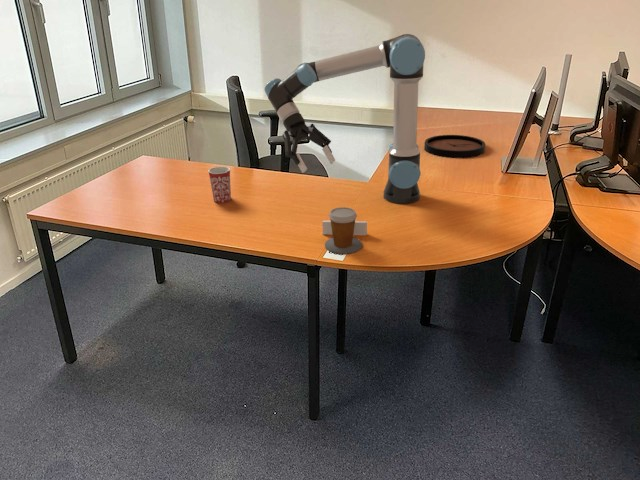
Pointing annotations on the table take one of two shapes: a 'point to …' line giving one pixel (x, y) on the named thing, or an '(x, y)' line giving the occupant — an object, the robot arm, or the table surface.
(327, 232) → the low wall
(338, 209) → the disposable coffee cup
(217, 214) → the table surface
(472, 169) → the table surface
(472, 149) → the wall clock
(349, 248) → the rubber pad
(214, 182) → the mug
